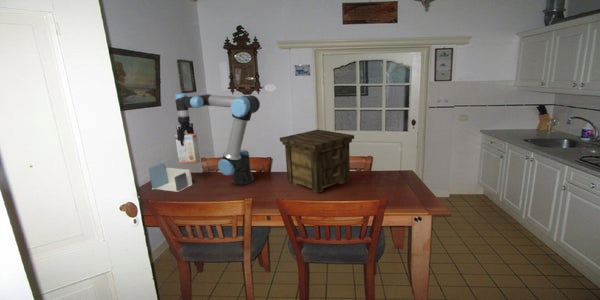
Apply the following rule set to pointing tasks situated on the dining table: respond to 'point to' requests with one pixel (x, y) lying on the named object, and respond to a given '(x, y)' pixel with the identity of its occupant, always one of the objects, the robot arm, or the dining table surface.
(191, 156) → the cracker box
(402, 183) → the dining table surface
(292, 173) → the wooden drawer cabinet
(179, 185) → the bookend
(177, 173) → the book rack
